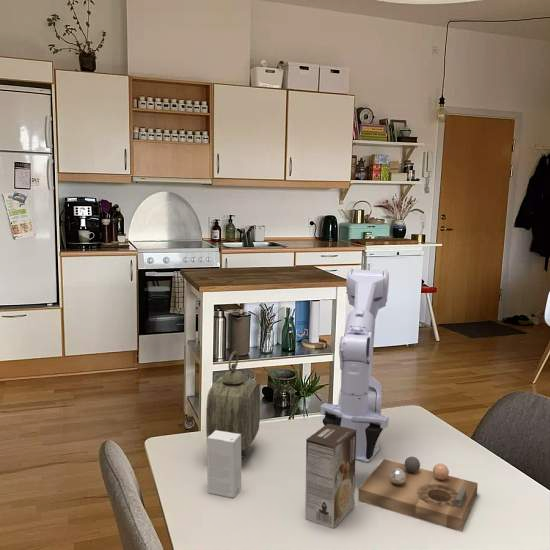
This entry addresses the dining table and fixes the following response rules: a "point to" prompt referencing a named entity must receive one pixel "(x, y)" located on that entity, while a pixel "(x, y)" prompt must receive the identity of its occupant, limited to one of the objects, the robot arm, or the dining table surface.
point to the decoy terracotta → (440, 471)
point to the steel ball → (397, 476)
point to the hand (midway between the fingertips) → (352, 452)
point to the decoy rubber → (412, 464)
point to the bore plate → (420, 495)
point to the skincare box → (224, 463)
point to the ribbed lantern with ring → (234, 406)
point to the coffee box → (330, 474)
